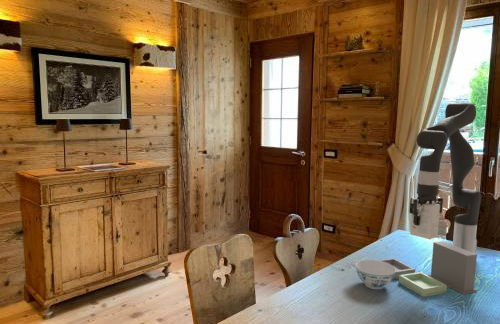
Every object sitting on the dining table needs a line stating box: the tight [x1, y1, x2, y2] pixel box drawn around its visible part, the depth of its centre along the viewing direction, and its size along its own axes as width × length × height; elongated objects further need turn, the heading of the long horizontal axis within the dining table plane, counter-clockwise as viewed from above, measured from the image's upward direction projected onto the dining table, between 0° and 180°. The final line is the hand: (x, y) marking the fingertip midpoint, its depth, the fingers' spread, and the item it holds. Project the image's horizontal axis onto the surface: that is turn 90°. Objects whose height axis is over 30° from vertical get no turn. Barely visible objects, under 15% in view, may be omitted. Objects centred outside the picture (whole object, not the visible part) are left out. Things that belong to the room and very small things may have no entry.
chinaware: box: [355, 259, 396, 290], centre depth 151 cm, size 15×15×8 cm
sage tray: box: [398, 271, 448, 298], centre depth 151 cm, size 11×13×3 cm
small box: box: [409, 203, 440, 240], centre depth 150 cm, size 8×6×13 cm
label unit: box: [427, 240, 478, 295], centre depth 154 cm, size 7×17×15 cm, turn 20°
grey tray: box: [377, 257, 416, 280], centre depth 165 cm, size 11×13×3 cm
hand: (424, 224), depth 150 cm, fingers closed on small box, 7 cm apart
